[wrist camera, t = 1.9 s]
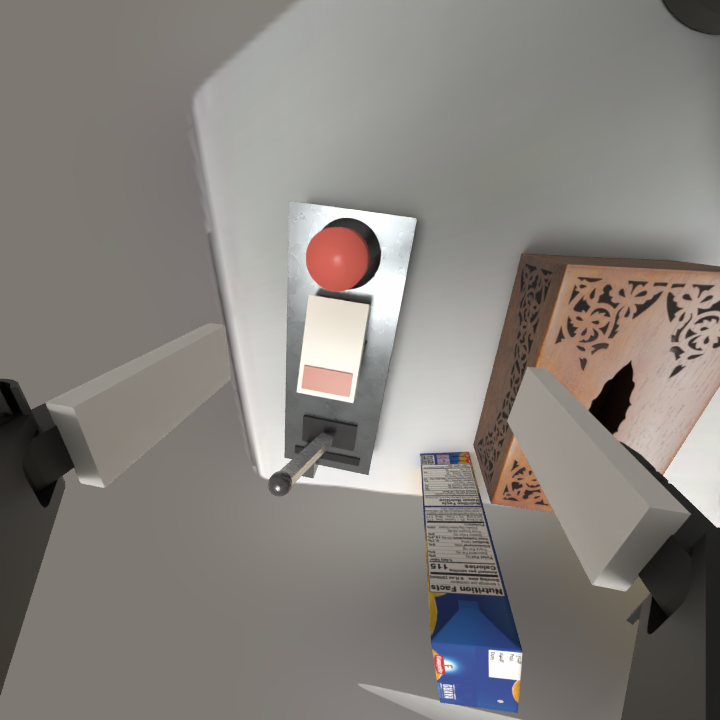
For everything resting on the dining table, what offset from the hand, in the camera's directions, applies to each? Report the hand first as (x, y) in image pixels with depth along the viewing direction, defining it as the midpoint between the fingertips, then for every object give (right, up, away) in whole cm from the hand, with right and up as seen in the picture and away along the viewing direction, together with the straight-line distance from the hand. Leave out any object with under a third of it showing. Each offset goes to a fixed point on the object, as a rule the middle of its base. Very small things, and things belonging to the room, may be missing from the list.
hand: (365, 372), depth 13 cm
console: (-2, +2, +25) cm, 25 cm away
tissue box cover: (+24, 0, +23) cm, 33 cm away
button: (-2, +10, +14) cm, 17 cm away
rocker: (-3, +2, +17) cm, 17 cm away
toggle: (-4, -9, +24) cm, 26 cm away
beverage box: (+13, -18, +32) cm, 39 cm away
